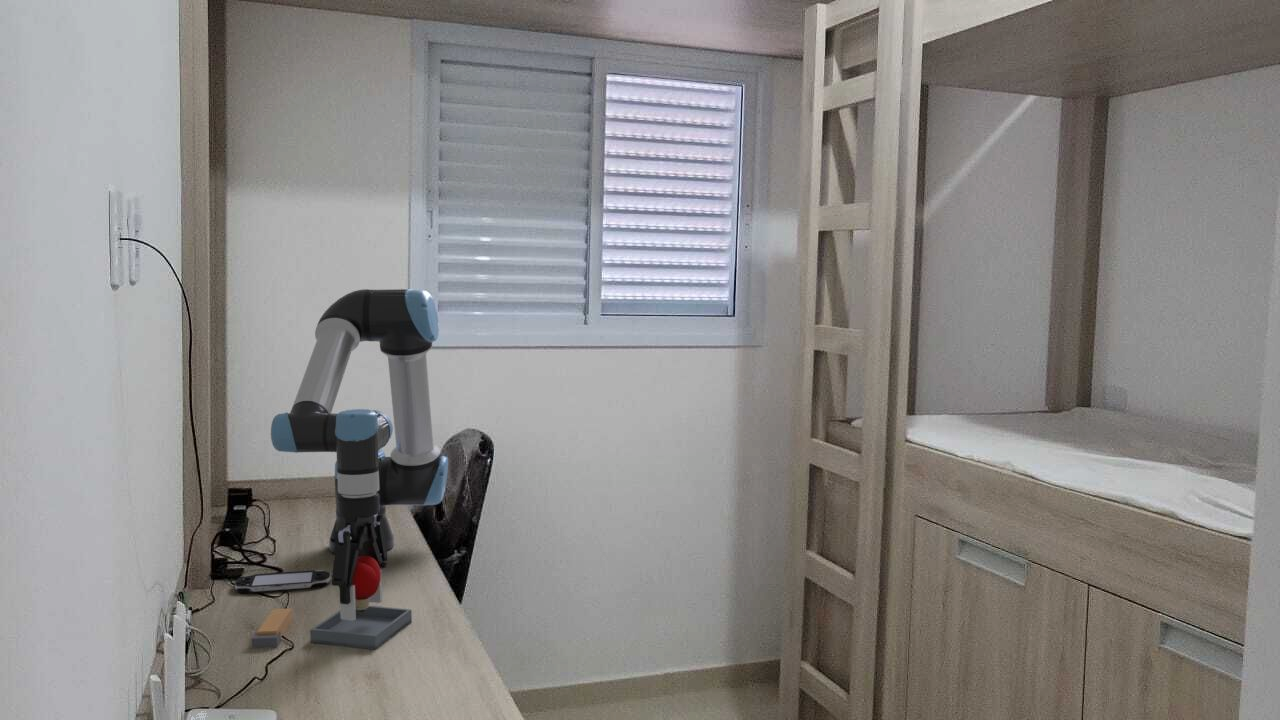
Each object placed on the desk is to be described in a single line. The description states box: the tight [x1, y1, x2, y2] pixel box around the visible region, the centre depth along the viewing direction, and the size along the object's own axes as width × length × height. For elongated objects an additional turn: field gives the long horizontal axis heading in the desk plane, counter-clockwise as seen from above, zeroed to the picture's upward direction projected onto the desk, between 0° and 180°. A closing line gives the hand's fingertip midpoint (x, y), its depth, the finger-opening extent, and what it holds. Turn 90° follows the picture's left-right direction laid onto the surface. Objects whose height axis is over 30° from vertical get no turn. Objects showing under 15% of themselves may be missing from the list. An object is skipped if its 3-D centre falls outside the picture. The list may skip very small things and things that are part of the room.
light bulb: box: [352, 555, 382, 612], centre depth 194 cm, size 9×7×10 cm
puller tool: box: [251, 607, 293, 649], centre depth 194 cm, size 14×4×2 cm, turn 6°
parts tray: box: [309, 605, 413, 650], centre depth 195 cm, size 14×13×2 cm
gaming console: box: [234, 569, 331, 595], centre depth 222 cm, size 19×9×3 cm, turn 104°
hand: (361, 610), depth 195 cm, fingers closed on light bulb, 9 cm apart
